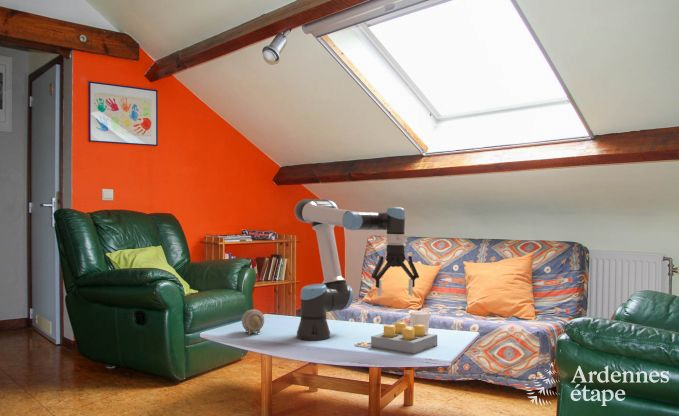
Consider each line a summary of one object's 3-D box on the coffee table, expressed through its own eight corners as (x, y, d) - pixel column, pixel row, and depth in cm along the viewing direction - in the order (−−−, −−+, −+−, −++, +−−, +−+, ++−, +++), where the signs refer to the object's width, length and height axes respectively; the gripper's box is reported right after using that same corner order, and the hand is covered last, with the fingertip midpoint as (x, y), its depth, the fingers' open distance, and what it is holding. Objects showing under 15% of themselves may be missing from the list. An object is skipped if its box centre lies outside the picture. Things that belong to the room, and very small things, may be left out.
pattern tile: (354, 345, 218) (354, 343, 218) (362, 343, 222) (362, 341, 222) (366, 347, 214) (366, 345, 214) (374, 345, 219) (374, 343, 219)
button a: (381, 338, 216) (381, 326, 216) (387, 336, 219) (387, 324, 220) (391, 340, 213) (391, 327, 213) (397, 338, 217) (397, 326, 217)
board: (371, 347, 215) (371, 336, 215) (396, 339, 231) (396, 329, 231) (413, 354, 203) (413, 342, 203) (437, 345, 219) (437, 334, 219)
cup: (416, 333, 243) (416, 310, 243) (435, 336, 237) (435, 312, 237) (405, 337, 235) (405, 312, 236) (424, 340, 229) (424, 315, 229)
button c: (392, 335, 223) (392, 323, 223) (398, 333, 227) (398, 321, 227) (402, 336, 220) (402, 324, 220) (408, 334, 224) (408, 323, 224)
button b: (400, 341, 210) (400, 328, 210) (406, 339, 214) (406, 327, 214) (410, 342, 207) (410, 330, 207) (416, 340, 211) (416, 328, 211)
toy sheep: (246, 337, 235) (246, 312, 235) (237, 330, 250) (237, 307, 251) (268, 335, 239) (268, 311, 240) (258, 329, 255) (259, 306, 255)
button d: (411, 337, 217) (411, 325, 218) (417, 335, 221) (416, 324, 221) (421, 339, 214) (421, 327, 215) (427, 337, 218) (427, 325, 218)
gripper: (369, 244, 211) (368, 297, 211) (426, 244, 217) (426, 296, 216) (364, 244, 219) (363, 294, 218) (420, 244, 224) (419, 293, 224)
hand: (395, 295), depth 217 cm, fingers open, 13 cm apart
